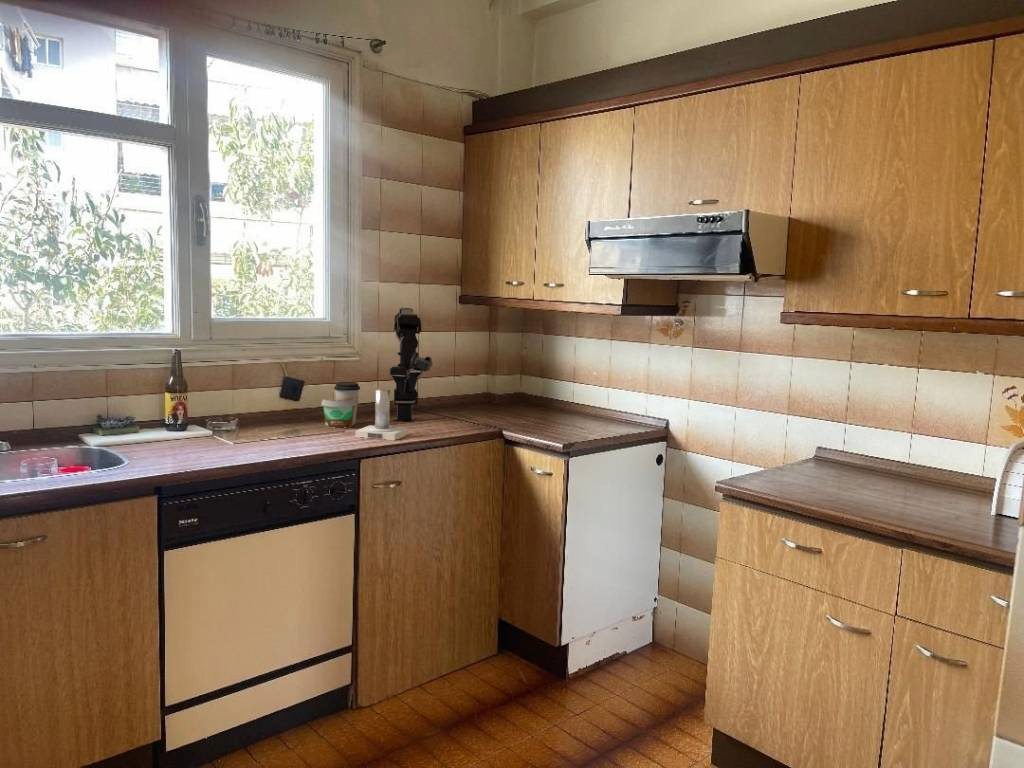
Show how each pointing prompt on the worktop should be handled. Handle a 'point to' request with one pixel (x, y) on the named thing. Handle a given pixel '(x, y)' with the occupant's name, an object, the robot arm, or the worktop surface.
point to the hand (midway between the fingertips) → (407, 393)
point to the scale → (381, 433)
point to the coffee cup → (347, 393)
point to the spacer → (382, 408)
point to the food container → (338, 413)
